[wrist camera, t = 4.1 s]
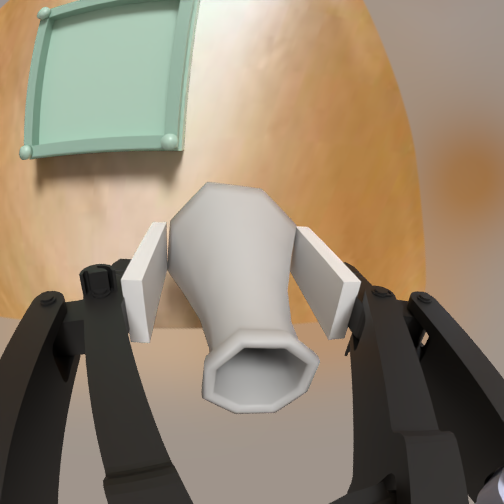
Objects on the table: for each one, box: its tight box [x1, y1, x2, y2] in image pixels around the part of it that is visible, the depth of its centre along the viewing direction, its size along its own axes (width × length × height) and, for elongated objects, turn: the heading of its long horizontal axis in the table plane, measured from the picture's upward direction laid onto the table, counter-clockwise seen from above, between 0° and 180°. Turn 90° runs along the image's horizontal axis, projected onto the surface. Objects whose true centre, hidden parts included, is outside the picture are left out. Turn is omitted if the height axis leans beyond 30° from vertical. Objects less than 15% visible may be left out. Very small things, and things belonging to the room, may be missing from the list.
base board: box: [19, 0, 200, 160], centre depth 14 cm, size 12×12×3 cm
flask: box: [167, 182, 320, 414], centre depth 12 cm, size 7×7×10 cm
